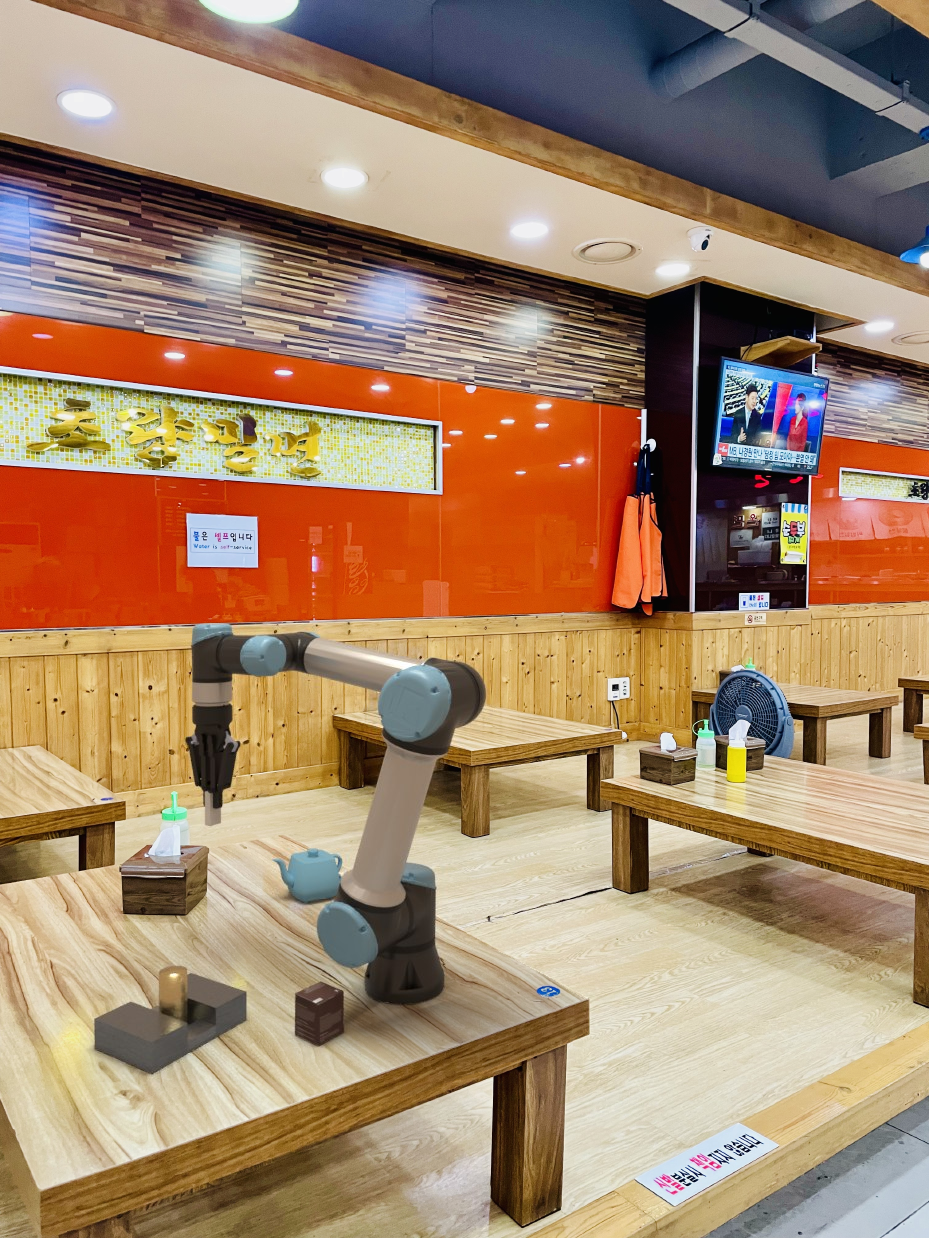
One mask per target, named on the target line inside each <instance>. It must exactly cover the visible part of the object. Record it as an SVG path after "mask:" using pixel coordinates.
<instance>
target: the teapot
mask: <svg viewBox="0 0 929 1238" xmlns="http://www.w3.org/2000/svg"><path fill="white" fill-rule="evenodd" d="M306 850H307V851H301V852H295V853H291V855H290V858H289V863H288V866H286V865H287V864H286V863H285V861H284V860H283V859H280V858H272V859H271V861H273V862H275V863H276V864H277V865H278V867H279V870H280V871H279V872H280V876H281V880H282V881H283V883H284V884H285V885H286V886H287V888H288V891H289V893H290V895H291V896H292V897H294V898H295V899H297V900H299V901H301V902H302V903H305V904H306V903H310V902H313V901H318V900H319V901H320V900H324V899H326V900H328V899H331V898H333V897H336V895H337V891H338V887H339V884H340V881H341V878H342V875H341V874H340V871H341V868H342V865H343V858H342V857H341V855H339V854H337V853H330V852H328V851H326V850H323V849H318V848H309V849H306ZM336 859H337V861H336Z"/></svg>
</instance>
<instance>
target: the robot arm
mask: <svg viewBox="0 0 929 1238" xmlns="http://www.w3.org/2000/svg"><path fill="white" fill-rule="evenodd" d="M191 632H192V633H191V634H192V635H191V636H192V637H191V645H190V648H191V673H192V674H191V677H192V678H191V681H192V682H191V701H192V702H193V703H194V704H193V705H192V706H191V713H192V715H191V720H192V722H191V723H192V724H193V725H195V729H194V731H193V732H194V733H193V734H192V735H191V736H186V737H185V739H184V741H185V743H186V745H187V748H188V752H189V757H190V758H189V759H190V763H191V769H192V776H193V781H194V786H195V787H200V788H201V791H202V792H203V793H202V800H203V801H202V802H203V803H202V804H203V807H204V826H206V827H212V826H215V825H216V826H217V825H219V824H221V823H222V808H223V805H224V804H223V800H224V798H223V797H224V796H223V793H224V792H223V791H224V790H227V789H231V787H232V783H233V778H234V777H233V775H234V771H235V767H236V765H235V764H236V760H237V755H238V752H239V750H240V748H241V744H242V743H241V741H240V740H235V739H234V738H233V737H232V731H231V730H230V729H231V728H230V726H231V725H230V724H231V723H232V722H233V716H234V715H233V711H234V709H233V705H232V703H230V702H232V701H233V675H241V676H242V675H243V676H251V677H252V676H254V677H257V678H261V677H274V676H275V675H277V674H279V673H284V672H292V671H293V672H299V673H302V674H308V675H312V676H315V677H319V678H323V679H327V680H331V681H335V682H340V683H343V684H347V685H351V686H355V687H358V688H362V689H366V690H371V691H375V692H379V696H378V701H377V712H378V713H377V714H378V716H380V718H381V720H380V723H381V725H382V731H381V737H382V739H383V740H384V742H385V744H386V746H387V747H386V750H385V753H384V757H383V761H382V765H381V767H380V772H379V775H378V779H377V783H376V786H375V790H374V793H373V797H372V800H371V804H370V808H369V811H368V814H367V817H366V820H365V821H366V822H365V825H364V829H363V832H362V835H361V839H360V843H359V846H358V849H357V853H356V856H355V859H354V860H355V861H354V863H353V867H352V869H350V870H348V871H346V872H344V873H343V874H342V875H341V877H342V878H341V881H340V884H339V887H338V891H337V895H336V896H335V898H334V899H333V901H330V902H329V903H326V905H324V907H323V908H322V909H321V910H320V912H319V914H318V915H317V919H316V933H317V937H318V940H319V943H321V945H322V949H323V951H324V952H325V953H326V955H327V956H328V957H329V958H330V959H331V960H332V961H333V962H335V963H336V964H338V965H339V966H342V967H344V968H348V969H349V968H350V969H356V968H360V967H362V966H365V965H366V964H367V967H366V970H365V973H364V978H363V979H364V982H363V983H364V987H363V988H364V991H365V993H366V994H367V995H368V997H370V998H372V999H374V1000H375V1001H379V1002H381V1003H386V1004H391V1005H414V1004H420V1003H424V1002H427V1001H430V1000H432V999H434V998H436V997H437V996H439V995H440V994H441V993H442V992H443V991H444V989H445V970H444V969H443V967H442V963H441V959H440V957H439V953H438V950H437V946H436V920H437V919H436V914H437V913H436V912H437V911H436V909H437V908H436V905H437V904H436V902H437V900H436V899H437V897H436V896H437V886H436V874H435V871H434V870H433V869H432V868H430V867H429V866H427V865H424V864H421V863H415V862H414V863H413V862H407V861H408V857H409V854H410V851H411V848H412V844H413V841H414V838H415V833H416V830H417V828H418V827H417V826H418V824H419V820H420V817H421V813H422V810H423V808H424V807H423V806H424V804H425V799H426V796H427V793H428V790H429V787H430V784H431V781H432V777H433V773H434V769H435V767H436V763H437V760H439V759H441V758H442V757H445V756H447V755H448V753H449V751H450V746H451V744H452V741H453V737H454V734H455V731H456V729H458V728H461V727H465V726H467V725H469V724H471V723H472V722H473V721H474V720H476V719H477V718H478V716H480V714H481V712H482V711H483V709H484V706H485V703H486V701H487V688H486V685H485V682H484V679H483V678H482V676H481V674H480V672H478V671H477V670H476V669H475V668H474V667H473V666H471V665H470V664H468V663H465V662H462V661H456V660H449V659H441V658H437V657H427V658H426V659H425V660H420V659H417V658H412V657H408V656H403V655H398V654H393V653H389V652H385V651H381V650H378V649H377V650H375V649H371V648H367V647H363V646H359V645H354V644H349V643H345V642H340V641H336V640H332V639H328V638H322V637H321V636H319V635H318V634H317V633H315V632H311V631H310V632H309V631H308V632H307V631H297V632H287V633H270V634H255V635H251V634H249V635H248V634H245V635H244V634H243V635H242V634H237V635H236V634H234V633H233V627H232V625H231V624H230V623H197V624H195V625H194V626H193V627H192V631H191Z"/></svg>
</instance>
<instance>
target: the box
mask: <svg viewBox="0 0 929 1238" xmlns="http://www.w3.org/2000/svg"><path fill="white" fill-rule="evenodd" d="M294 995H295V996H294V1034H295V1035H294V1036H295V1037H297V1038H300V1039H303V1040H304V1041H307V1042H309V1043H311V1044H313V1046H316V1047H320V1046H321V1045H322V1044H325V1043H326V1042H329V1041H330V1040H332V1039H333V1038H335V1037H338V1036H339V1035H341V1034H343V1033H344V1032H345V1005H344V1004H345V1003H344V1002H345V996H344V995H345V991H344V990H343V989H340V988H338V987H336V986H333V985H331V984H328V983H326V982H324V981H319V982H317V983H315V984H312V985H310V986H308V987H305V988H304V989H301V990H300V991H297V992H295V993H294Z"/></svg>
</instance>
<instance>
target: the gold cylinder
mask: <svg viewBox="0 0 929 1238" xmlns="http://www.w3.org/2000/svg"><path fill="white" fill-rule="evenodd" d="M187 975H188V968H187V967H186V966H183V965H171V966H168V967H167V966H166V967H164V968H162V969H160V970H159V972H158V1005H159V1012H160V1013H162V1014H165V1015H167V1016H170V1017H173V1018H175V1019H178V1020H180V1021H183V1022H186V1023H187V1026H188V1017H187Z"/></svg>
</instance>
